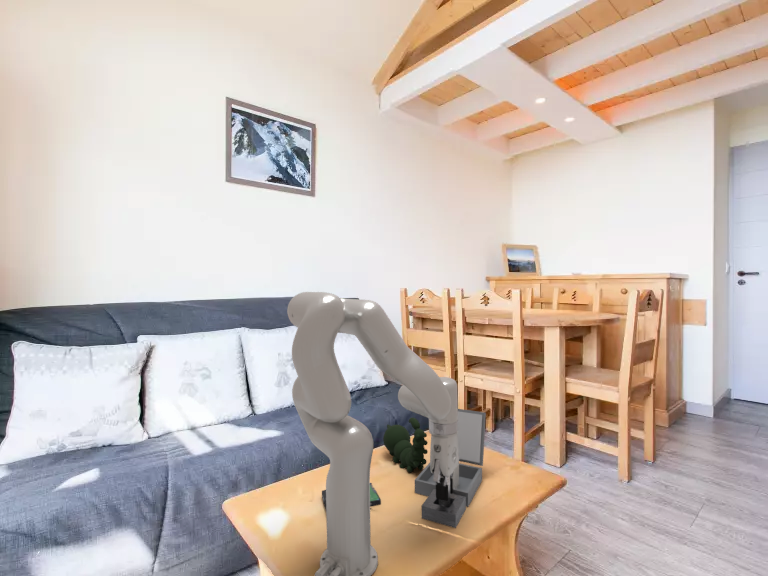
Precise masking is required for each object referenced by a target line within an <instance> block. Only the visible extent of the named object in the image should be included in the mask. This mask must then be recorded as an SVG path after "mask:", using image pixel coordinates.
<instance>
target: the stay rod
mask: <svg viewBox="0 0 768 576" xmlns="http://www.w3.org/2000/svg"><path fill="white" fill-rule="evenodd" d="M440 472H442V471H440ZM440 478H443V480H444V476H440ZM447 485H448V501H444V500H440V499H439V505H441V506H444V507H448V506H450V504H451V503H450V476H449V477H447Z"/></svg>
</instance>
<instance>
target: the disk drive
mask: <svg viewBox="0 0 768 576" xmlns="http://www.w3.org/2000/svg"><path fill="white" fill-rule="evenodd" d="M321 500H322V502H323V503H322V504H323V506H324V510H325V512H326V489H324V490H321ZM381 500H382V499H381V497H380V495H379V494H378V492H377V490H376V489H375V487H374V485H373V483H372V482H370V511H371V510H372V508H371V507H375V506H380V505H382V501H381Z"/></svg>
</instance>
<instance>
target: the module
mask: <svg viewBox="0 0 768 576" xmlns="http://www.w3.org/2000/svg"><path fill="white" fill-rule="evenodd" d="M459 463H460V462H459ZM459 463H458V465H457V467H456V468H455V470H454V471H453V477H452V478H453V488H456V489H457V487H458V485H459Z"/></svg>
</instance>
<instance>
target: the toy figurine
mask: <svg viewBox="0 0 768 576" xmlns="http://www.w3.org/2000/svg"><path fill="white" fill-rule="evenodd" d="M408 423H410V424H411V427H412V428H413V430H415V431H414V432H413V438H412V443H411V435H410V432H409V430H408V429H407V428H406V427H404V426H403V425H400V424H392V425H390V424H387V425H386V428H387V429H386V430H385V432H384V434H383V438H382V440H383V445H384V447H385V448H386V450H387V451H388V452H389V454H390V456H392V461H393V463H395V464H399V463H400V464H399V469H406V471H407V472H408V473H413V471H414V469H418V470H419V471H423V470H424V468H425V467H424V466H425V465H427V459H426V458H425V455H426V454H428V453H429V452H428V450H427V449H426V448H425V446H427V445H428V441H427V440H426V439H425V438H426V437H427V436H428V434H427V432H425V431H424V430H423V429H421V424H420V422H419V420H418V419H417V418H415V417H410V418H409V419H408Z"/></svg>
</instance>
